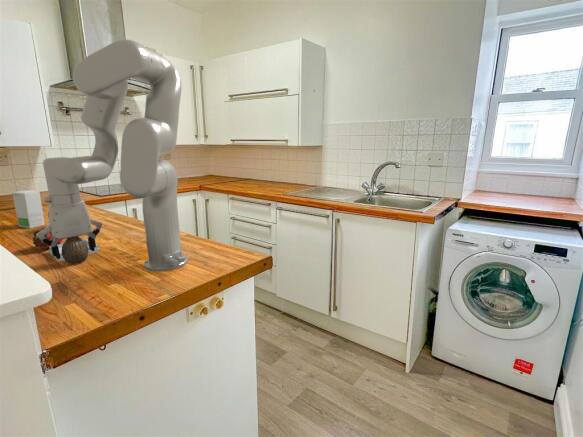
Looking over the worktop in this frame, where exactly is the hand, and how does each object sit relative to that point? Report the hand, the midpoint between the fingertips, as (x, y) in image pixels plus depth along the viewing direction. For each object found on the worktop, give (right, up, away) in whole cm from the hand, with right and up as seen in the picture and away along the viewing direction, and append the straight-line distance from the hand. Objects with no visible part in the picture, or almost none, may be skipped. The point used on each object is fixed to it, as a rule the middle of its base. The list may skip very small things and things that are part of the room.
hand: (75, 253), depth 100 cm
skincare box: (-49, +8, +44) cm, 66 cm away
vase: (0, -3, +1) cm, 3 cm away
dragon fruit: (-18, 0, +15) cm, 24 cm away
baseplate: (-7, 0, +9) cm, 11 cm away
